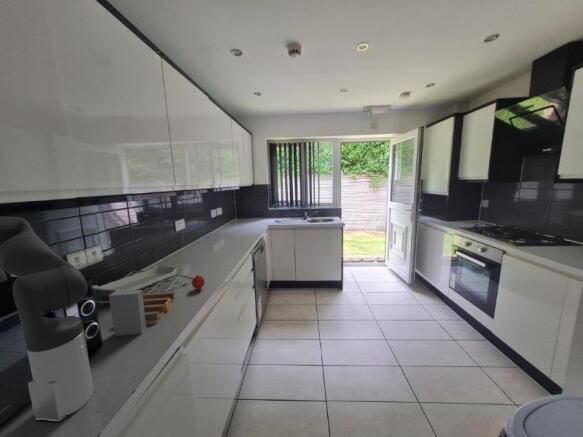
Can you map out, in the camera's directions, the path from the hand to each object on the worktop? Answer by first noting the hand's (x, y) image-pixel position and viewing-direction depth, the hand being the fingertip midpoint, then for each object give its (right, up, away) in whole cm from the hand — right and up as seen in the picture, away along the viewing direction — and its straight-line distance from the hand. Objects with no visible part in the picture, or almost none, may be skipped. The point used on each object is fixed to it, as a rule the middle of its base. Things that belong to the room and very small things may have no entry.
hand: (93, 310), depth 79 cm
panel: (+11, -9, +3) cm, 14 cm away
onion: (+22, -4, +35) cm, 42 cm away
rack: (+9, -7, +16) cm, 20 cm away
